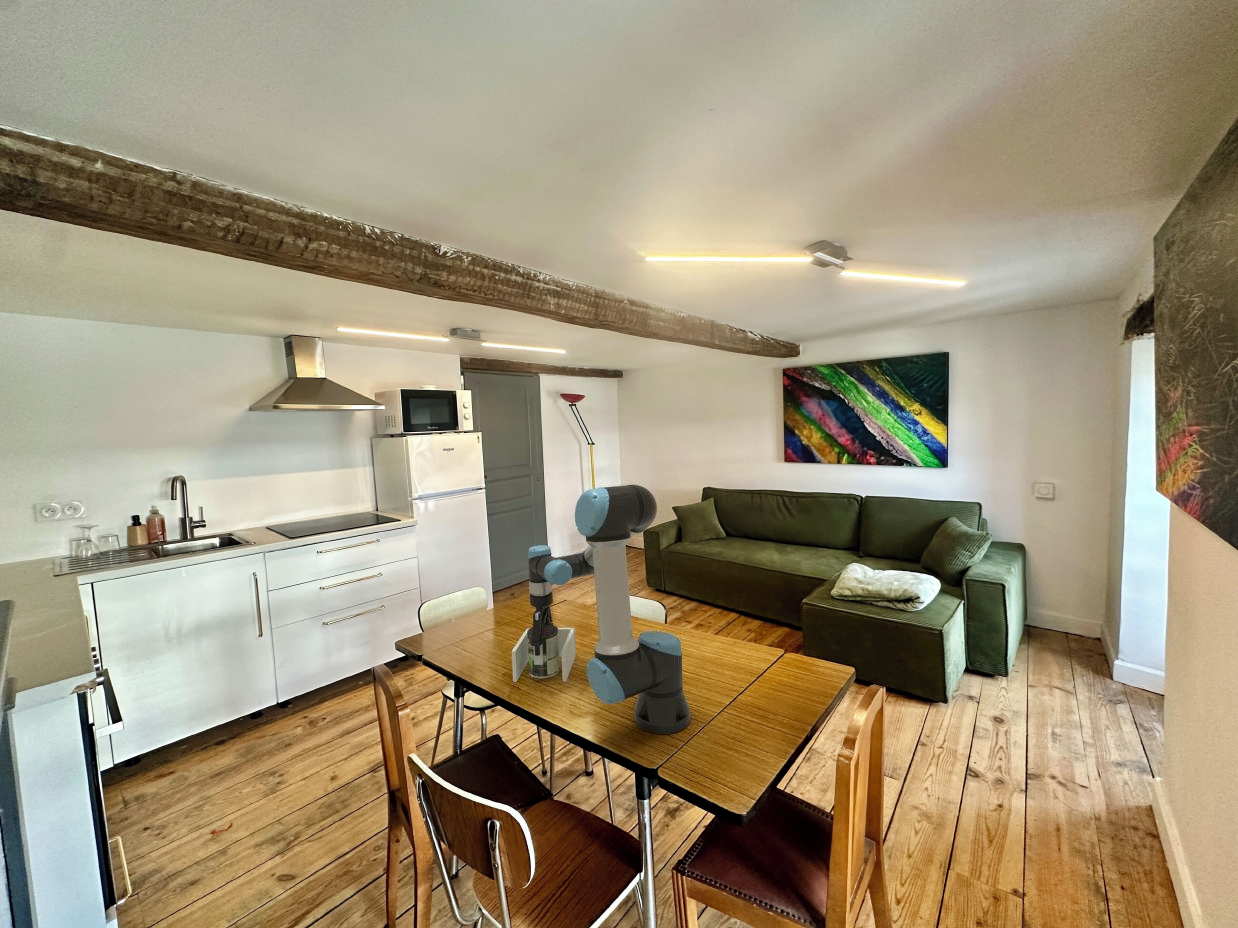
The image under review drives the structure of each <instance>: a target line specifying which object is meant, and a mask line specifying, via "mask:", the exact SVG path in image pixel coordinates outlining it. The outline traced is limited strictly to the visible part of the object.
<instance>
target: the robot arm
mask: <svg viewBox="0 0 1238 928" xmlns="http://www.w3.org/2000/svg"><path fill="white" fill-rule="evenodd" d="M657 504H658V503H657V500H656V498H655V497H654V495H653V494H652V492H651V491H650V490H648V488H646V487H645V486H642V485H638V484H626V485H625V484H623V485H617V486H616V485H615V486H604V487H601V486H600V487H597V488H590V489H587V490H585V491H583V492H582V494H580V496H579V498H578V500H577V502H576V505H575V508H574V509H575V511H574V522H575V526H576V527H577V529H576V530H577V531H578V532H579V534H580V535H581V536H583V537H585V542H586V543H587V544H588V546H587V548H585V550H584V551H583V552H578V553H574V554H570V555H569V554H568V555H563V556H558V557H555V556H552V548H551V547H550V546H549V545H545V544H543V545H539V544H538V545H534V546H531V547H529V549H528V551H527V552H528V555H527V557H528V558H527V561H528V562H527V565H528V587H529V588H528V589H529V605H530V606H531V607H534V608H535V611H534V613H533V614H532V627H533V630H532V643H531V646H533V648H534V665H543V651H542V644H541V641H542V633H543V625H553V626H554V623H553V615H552V610H551V605H552V604H553V603H554V598H553V592H552V591H553V586H554V585H555V586H556V585H557V586H563V585H566V584H567V583H568V582H569V581H570V580H572V579H578V578H581V577H586V576H591V575H594V585H595V586H594V587H595V598H596V600H595V601H596V612H597V624H598V626H597V627H598V636H599V637H598V639H599V640H598V641H597V642H596V643H595V645H594V647H593V648H594V649H593V650H594V657H592V658H590V659H589V660H588V662H587V664H586V677H587V679H588V682H589V686H590V687H591V690H592V691H593V692H594V694H595V696H596V697H597V699H599V701H601V703H603V704H606V705H614V704H617V703H619V702H620V703H622V702H624V701H625V700H627V699H630V698H632V697H635V696H638V697H637V700H636V703H635V707H634V721H635V724H636V725H637V726H638V727H639V728H640V729H642V730H643V731H645V732H648V733H651V734H656V735H671V734H675V733H678V732H681V731H683V730H684V729H685V728H686V727H688V726H689V724H690V721H691V712H690V711H691V710H690V707H689V704H688V701H687V699H686V696H685V693H684V690H683V684H684V683H683V652H682V643H681V640H680V639H679V638H678V637H677V636H676V635H675V634H671V633H668V632H665V631H658V630H648V631H643V632H641V633H640V634H639V636H638V638H637V639H636V638H634V636H633V624H632V612H631V611H632V610H631V609H632V608H631V601H630V600H631V599H630V585H629V572H628V571H629V570H628V560H627V548H626V547H627V546H626V545H627V543H628V542H629V541H630V540H631V539H632V538H633V537H634V536H635V535H636V534H641V533H643V532H645V531H646V530H647V529H648V528H649V527H650V526H651V525H652V523H653V522H654V520H655V518H656V516H657V513H658V505H657Z"/></svg>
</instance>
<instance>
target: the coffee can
mask: <svg viewBox="0 0 1238 928" xmlns="http://www.w3.org/2000/svg"><path fill="white" fill-rule="evenodd" d="M529 628H530V629H529V630H528V631H527V635H528V656H529V661H528V674H529V676H530V677H532V678H534V679H539V680H544V679H549V678H553V677H555V676H556V675H557V674H559V673H560V657H559V650H558V628H559V627H558V626H555V625H554V624H553V625H543V633H542V641H541V644H542V651H543V665H534V648H533V646H531V643H532V630H533V626H532V627H529Z"/></svg>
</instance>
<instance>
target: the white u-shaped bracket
mask: <svg viewBox="0 0 1238 928" xmlns="http://www.w3.org/2000/svg"><path fill="white" fill-rule="evenodd" d="M530 628H531V627H526V629H525V631H524V632H523V634H522V635H521V637H520V638H519V639H518V641H517V643H516V644H515V645H514V647H513V649H512V650H511V666H512V682H513V683H514V682H515V683H516V682H517V681H518V680H519V678H520V676H521V675H522V673H523V671H524V670H525V667H526V666H527V664H529V656H528V635H527V631H528V630H529V629H530ZM557 628H558V650H559V658H560V657H561V674H562V675H561V676H562V677H561V678H562V682H563V683H565V682H567V681H568V679H569V675H570V674H571V669H572V667H573V665H574V662H575V659H576V656H577V649H576V648H577V646H576V645H577V644H576V628H575V627H557Z"/></svg>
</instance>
